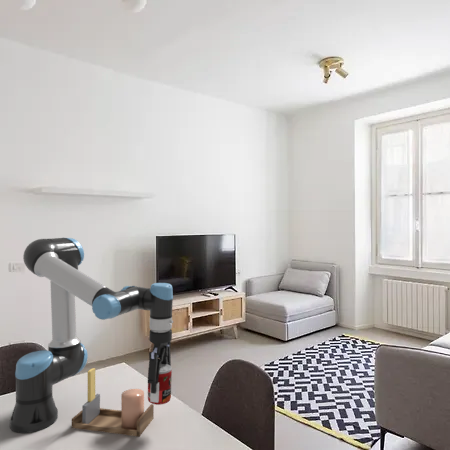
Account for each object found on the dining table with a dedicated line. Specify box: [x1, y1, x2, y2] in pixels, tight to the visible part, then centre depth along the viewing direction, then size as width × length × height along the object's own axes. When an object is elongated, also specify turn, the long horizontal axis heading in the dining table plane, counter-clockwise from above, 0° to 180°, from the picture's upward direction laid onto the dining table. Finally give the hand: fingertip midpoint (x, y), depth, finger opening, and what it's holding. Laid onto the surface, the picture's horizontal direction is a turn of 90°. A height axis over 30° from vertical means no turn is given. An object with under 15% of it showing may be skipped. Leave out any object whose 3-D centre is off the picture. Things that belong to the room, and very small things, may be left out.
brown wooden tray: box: [71, 403, 155, 438], centre depth 131 cm, size 25×12×6 cm, turn 78°
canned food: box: [147, 364, 173, 406], centre depth 128 cm, size 8×8×11 cm
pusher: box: [81, 367, 101, 424], centre depth 133 cm, size 1×9×18 cm, turn 168°
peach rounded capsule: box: [120, 388, 145, 430], centre depth 130 cm, size 8×8×11 cm
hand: (159, 395), depth 128 cm, fingers closed on canned food, 8 cm apart
